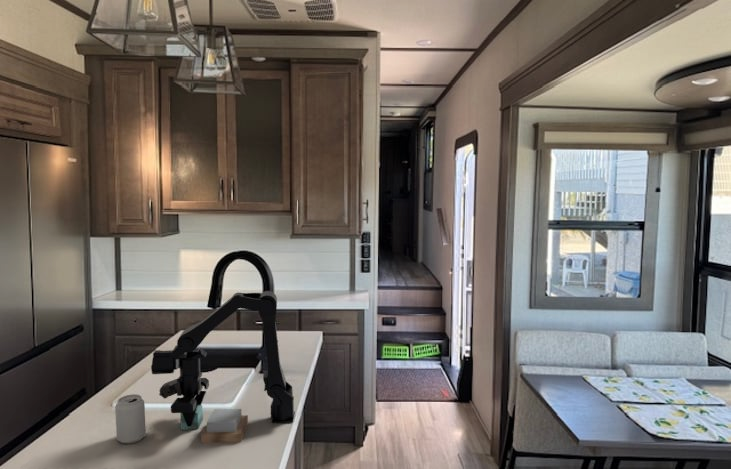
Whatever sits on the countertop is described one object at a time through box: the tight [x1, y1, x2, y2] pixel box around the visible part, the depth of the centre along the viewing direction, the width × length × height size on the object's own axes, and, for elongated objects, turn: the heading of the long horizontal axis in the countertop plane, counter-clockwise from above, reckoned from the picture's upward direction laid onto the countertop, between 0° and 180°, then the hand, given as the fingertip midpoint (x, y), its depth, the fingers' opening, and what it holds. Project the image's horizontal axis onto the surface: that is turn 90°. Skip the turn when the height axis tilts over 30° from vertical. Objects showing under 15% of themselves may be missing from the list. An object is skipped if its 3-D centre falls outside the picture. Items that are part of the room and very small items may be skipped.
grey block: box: [206, 408, 242, 432], centre depth 145 cm, size 8×8×3 cm
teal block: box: [179, 404, 204, 430], centre depth 150 cm, size 5×5×5 cm
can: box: [114, 393, 147, 445], centre depth 142 cm, size 8×8×12 cm
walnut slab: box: [200, 414, 249, 444], centre depth 146 cm, size 11×11×3 cm
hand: (192, 421), depth 150 cm, fingers closed on teal block, 5 cm apart
